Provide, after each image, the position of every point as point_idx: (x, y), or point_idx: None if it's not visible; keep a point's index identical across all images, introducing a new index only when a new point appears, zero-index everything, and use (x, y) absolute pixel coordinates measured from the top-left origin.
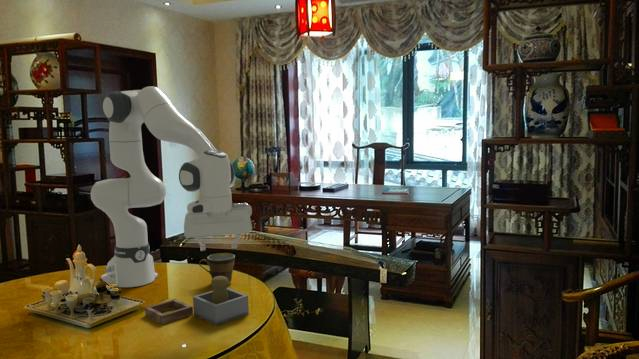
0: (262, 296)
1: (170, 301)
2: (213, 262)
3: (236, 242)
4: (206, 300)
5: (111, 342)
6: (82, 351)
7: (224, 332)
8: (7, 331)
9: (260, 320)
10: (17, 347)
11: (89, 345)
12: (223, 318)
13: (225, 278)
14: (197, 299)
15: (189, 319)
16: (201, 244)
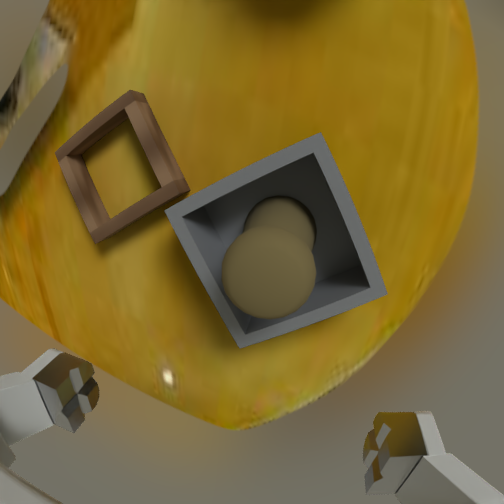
0: (459, 118)
1: (115, 115)
2: None
3: (411, 496)
4: (212, 278)
5: (38, 290)
6: (14, 304)
7: (266, 360)
8: None
9: (386, 326)
10: None
11: (14, 285)
12: None
13: (295, 303)
14: (181, 240)
15: None
16: (40, 427)
